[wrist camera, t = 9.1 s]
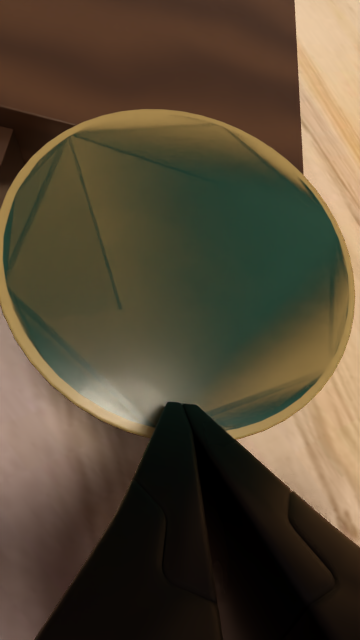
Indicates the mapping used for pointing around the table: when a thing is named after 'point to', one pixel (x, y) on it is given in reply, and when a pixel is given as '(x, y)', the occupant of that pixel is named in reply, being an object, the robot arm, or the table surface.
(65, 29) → the dark brown wooden block
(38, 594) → the table surface
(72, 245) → the tin
